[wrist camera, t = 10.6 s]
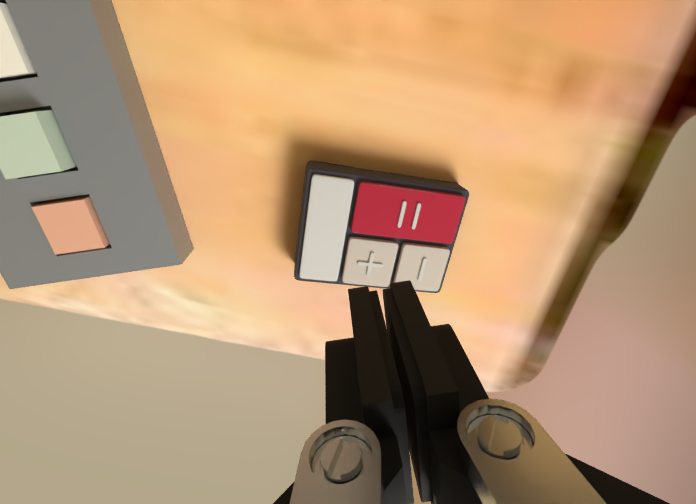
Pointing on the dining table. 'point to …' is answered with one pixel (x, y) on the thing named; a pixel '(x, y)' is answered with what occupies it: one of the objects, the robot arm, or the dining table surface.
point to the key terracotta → (71, 224)
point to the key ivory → (12, 49)
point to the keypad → (87, 149)
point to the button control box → (376, 227)
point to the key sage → (32, 145)
